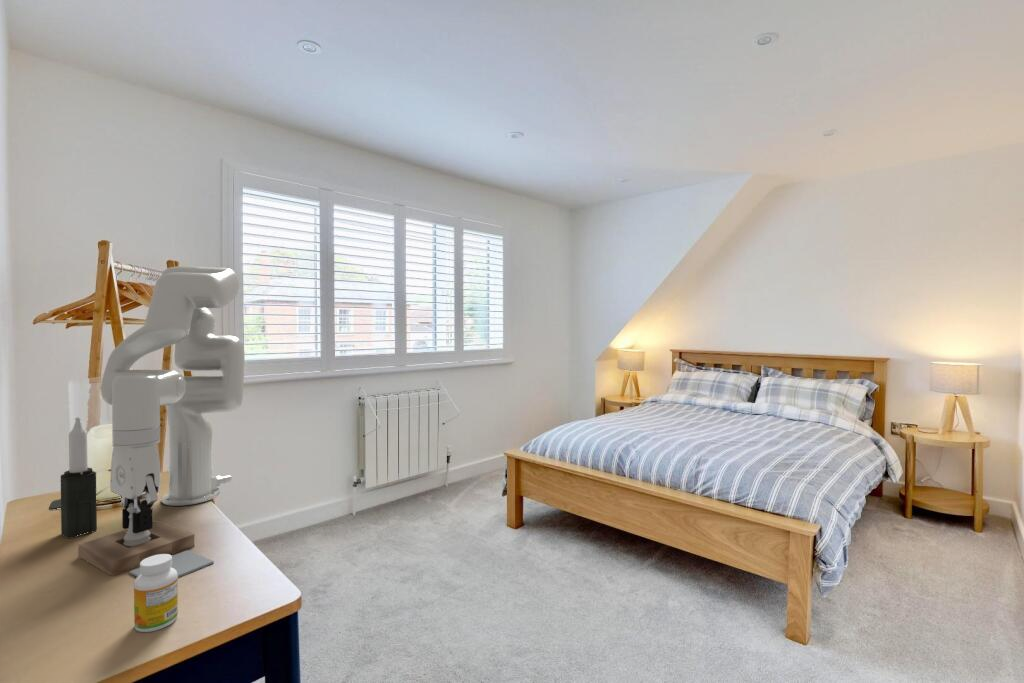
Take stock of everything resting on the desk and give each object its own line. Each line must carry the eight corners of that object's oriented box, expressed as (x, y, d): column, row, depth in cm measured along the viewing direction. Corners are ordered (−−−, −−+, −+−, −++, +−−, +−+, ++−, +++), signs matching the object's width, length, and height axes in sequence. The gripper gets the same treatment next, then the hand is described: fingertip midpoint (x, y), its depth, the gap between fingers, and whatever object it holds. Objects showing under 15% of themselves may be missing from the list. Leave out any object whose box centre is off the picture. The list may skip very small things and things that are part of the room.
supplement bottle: (135, 619, 76) (134, 557, 76) (177, 608, 79) (177, 548, 79) (133, 637, 72) (132, 571, 71) (178, 625, 75) (177, 562, 75)
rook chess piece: (136, 549, 96) (135, 508, 96) (117, 546, 97) (116, 506, 96) (156, 539, 100) (156, 500, 100) (138, 537, 101) (138, 498, 101)
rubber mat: (188, 552, 99) (188, 550, 99) (213, 563, 94) (213, 561, 94) (129, 573, 90) (129, 571, 90) (154, 586, 86) (154, 584, 86)
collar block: (159, 531, 108) (158, 520, 108) (194, 546, 101) (194, 534, 101) (78, 557, 96) (78, 544, 96) (112, 576, 89) (112, 562, 89)
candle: (68, 539, 104) (66, 420, 103) (59, 533, 106) (57, 417, 106) (98, 530, 108) (97, 416, 107) (89, 525, 111) (87, 414, 110)
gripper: (94, 435, 99) (95, 526, 99) (135, 445, 91) (136, 545, 91) (138, 428, 105) (138, 514, 106) (179, 438, 97) (180, 531, 98)
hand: (137, 527), depth 98 cm, fingers closed on rook chess piece, 3 cm apart
